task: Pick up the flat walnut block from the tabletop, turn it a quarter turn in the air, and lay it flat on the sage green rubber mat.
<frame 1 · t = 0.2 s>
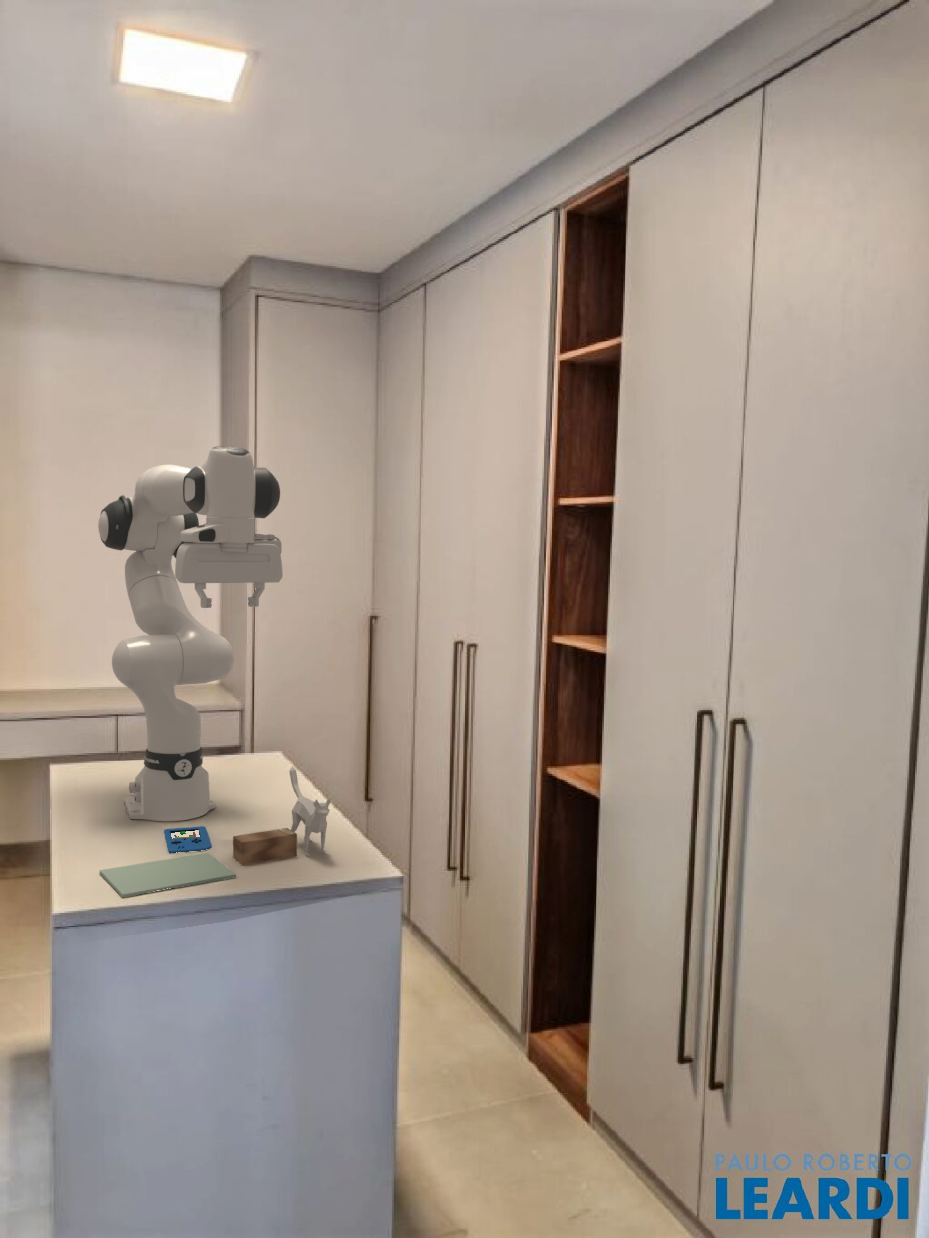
hand: (230, 607, 190), 47 cm above the table, tool pointing down, fingers open, 8 cm apart
rubber mat: (167, 875, 180), on the table
cat figurine: (306, 847, 199), on the table
walnut block: (264, 858, 192), on the table
handheld gaming device: (187, 843, 201), on the table
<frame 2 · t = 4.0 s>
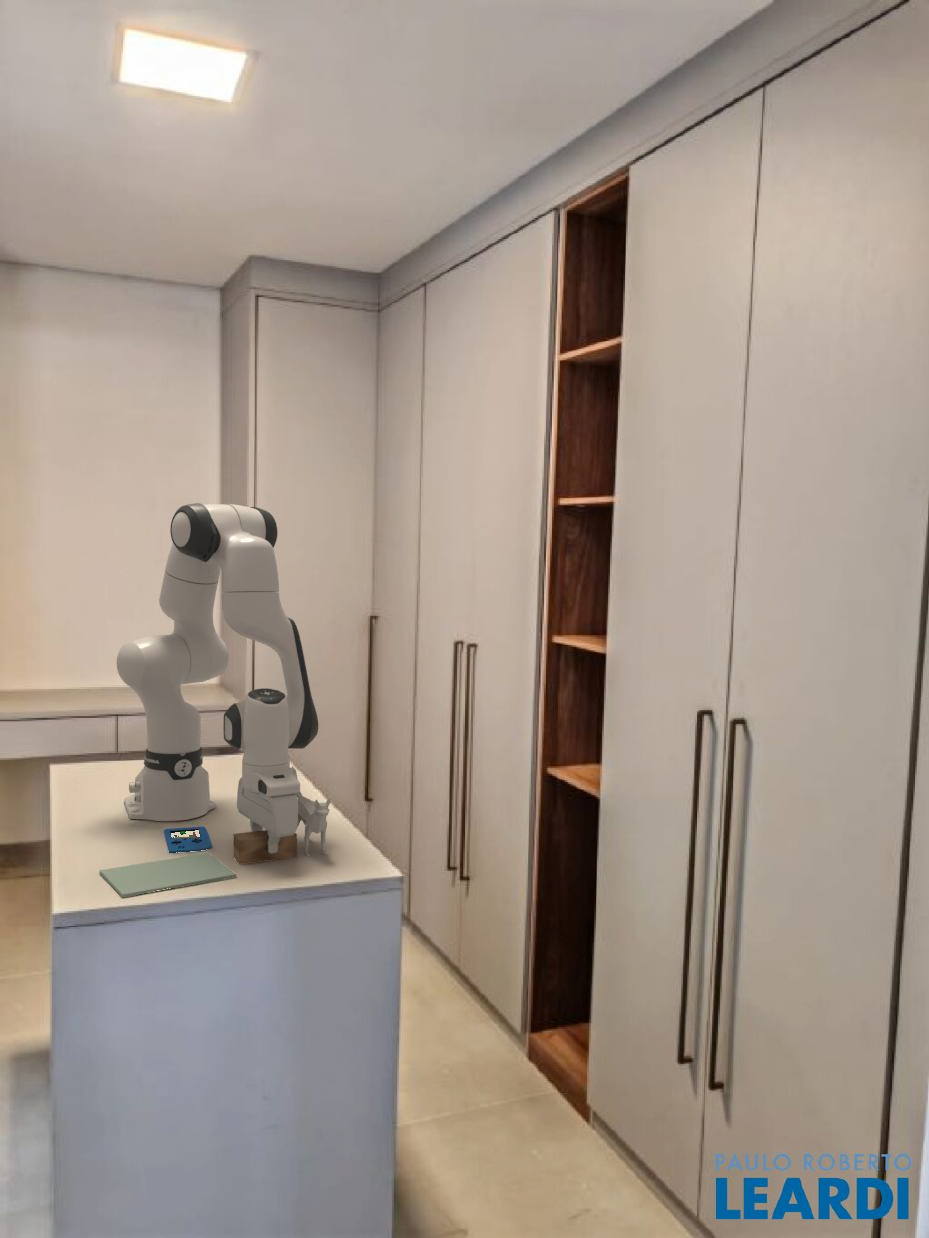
hand: (265, 847, 192), 2 cm above the table, tool pointing down, fingers closed on walnut block, 5 cm apart
walnut block: (264, 857, 192), on the table, touching gripper
everything else where it was.
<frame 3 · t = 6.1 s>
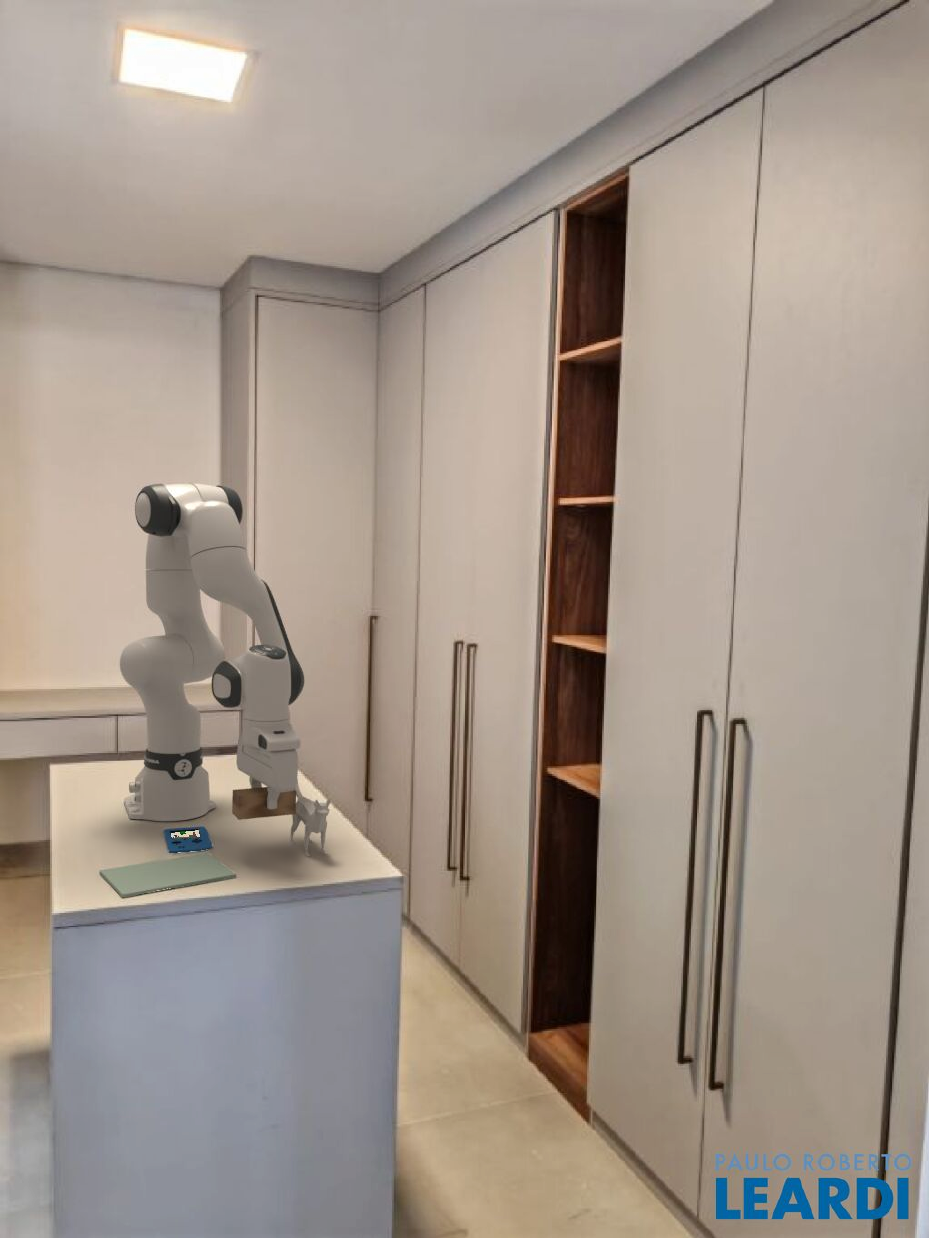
hand: (264, 804, 191), 10 cm above the table, tool pointing down, fingers closed on walnut block, 5 cm apart
walnut block: (264, 813, 191), point 8 cm above the table, touching gripper
everything else where it was.
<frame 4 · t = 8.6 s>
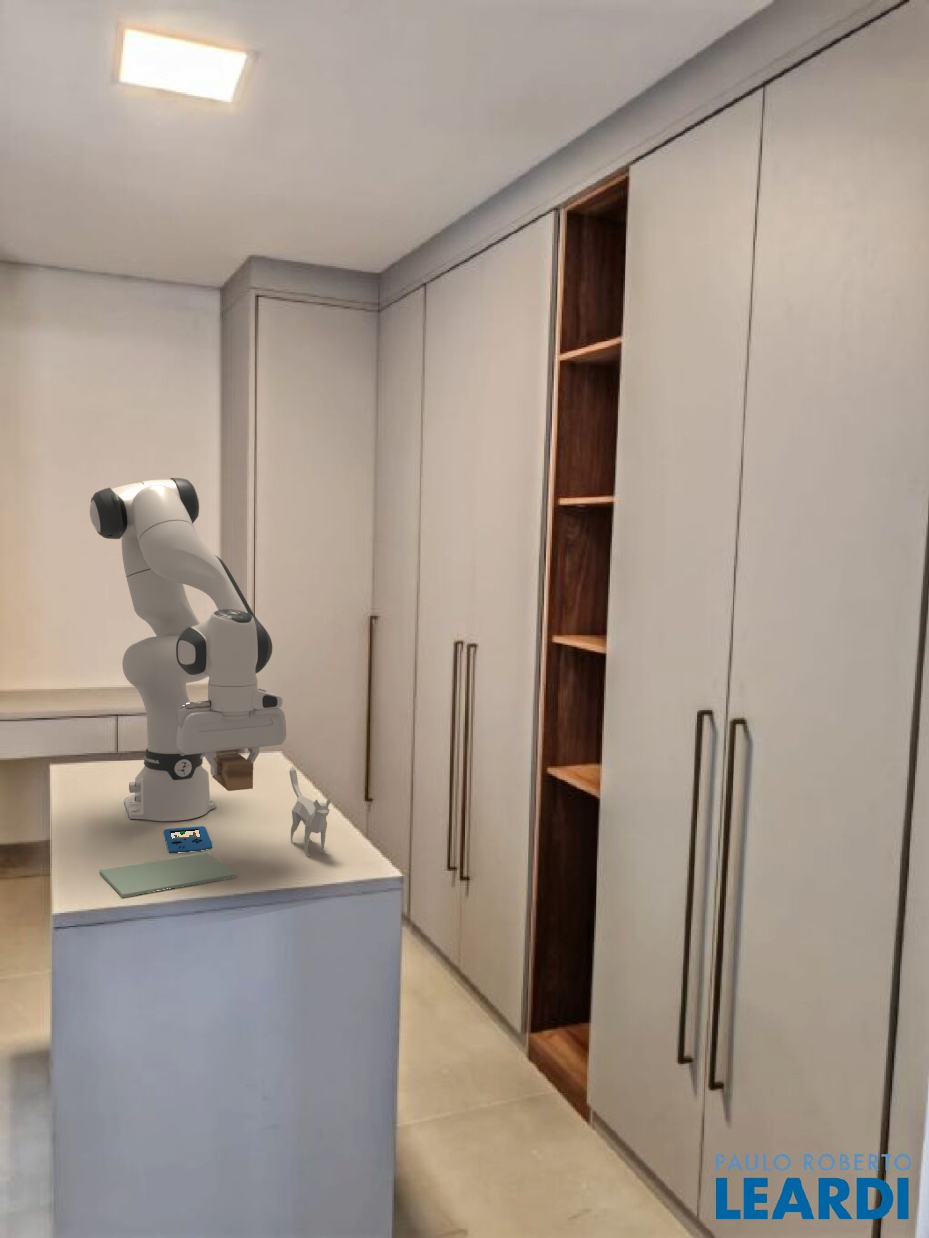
hand: (232, 773, 186), 17 cm above the table, tool pointing down, fingers closed on walnut block, 5 cm apart
walnut block: (232, 782, 186), point 15 cm above the table, touching gripper
everything else where it was.
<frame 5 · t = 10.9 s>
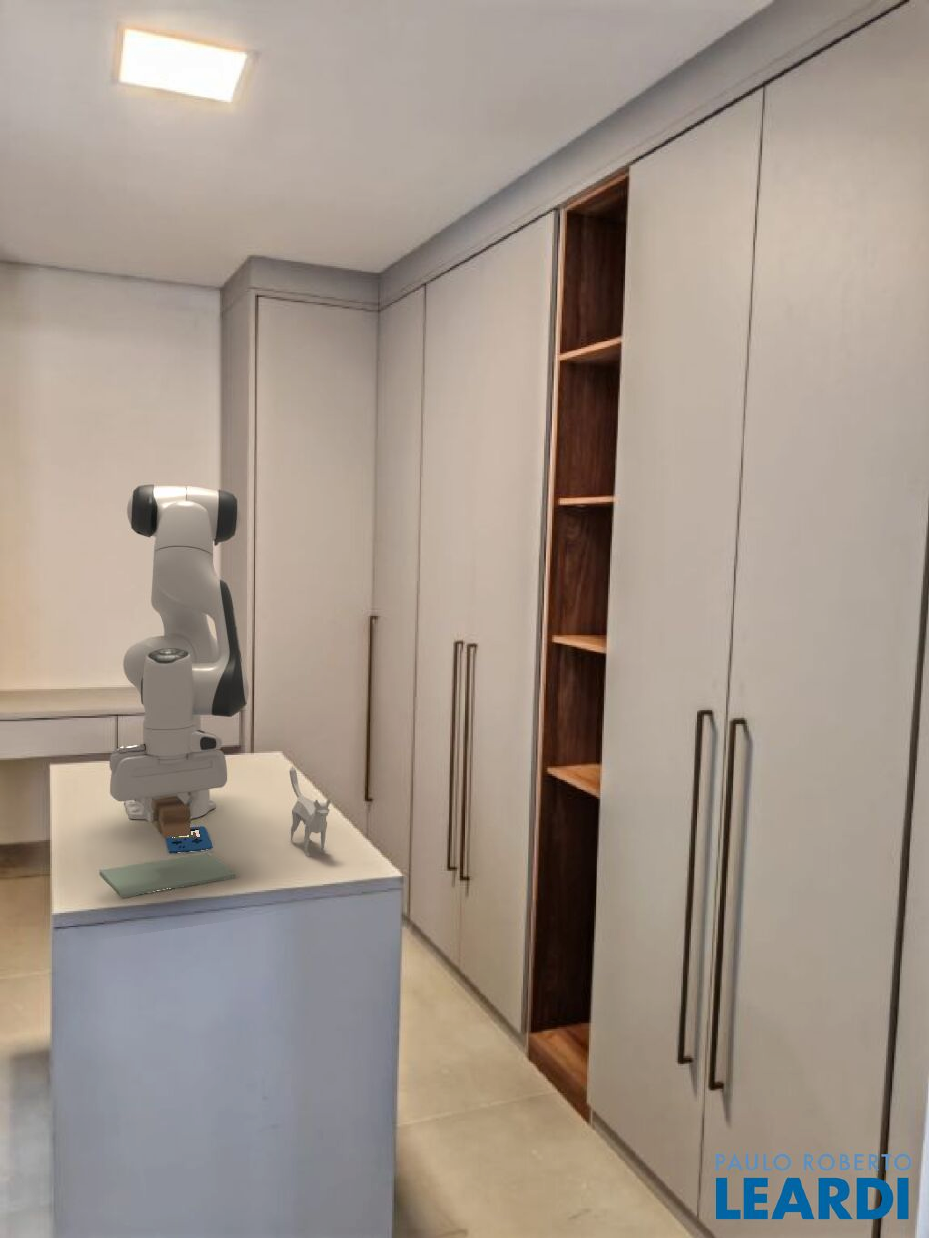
hand: (170, 818, 179), 10 cm above the table, tool pointing down, fingers closed on walnut block, 5 cm apart
walnut block: (170, 828, 179), point 9 cm above the table, touching gripper
everything else where it was.
when the fingers open (4 cm above the table, at t = 12.9 s): walnut block drops 1 cm, resting on rubber mat.
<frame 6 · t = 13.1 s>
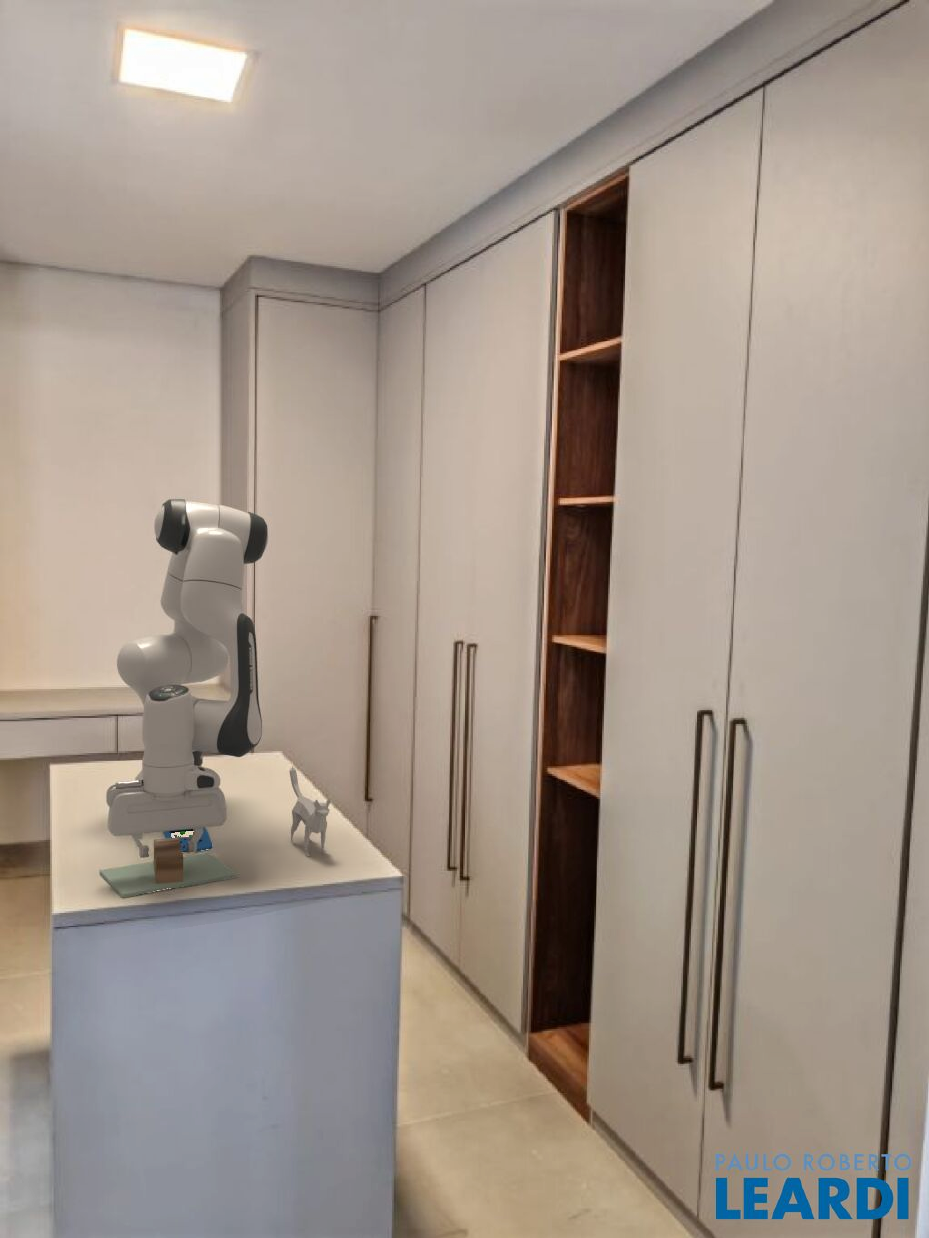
hand: (168, 854, 180), 4 cm above the table, tool pointing down, fingers open, 7 cm apart
walnut block: (168, 872, 180), point 1 cm above the table, touching rubber mat
everything else where it was.
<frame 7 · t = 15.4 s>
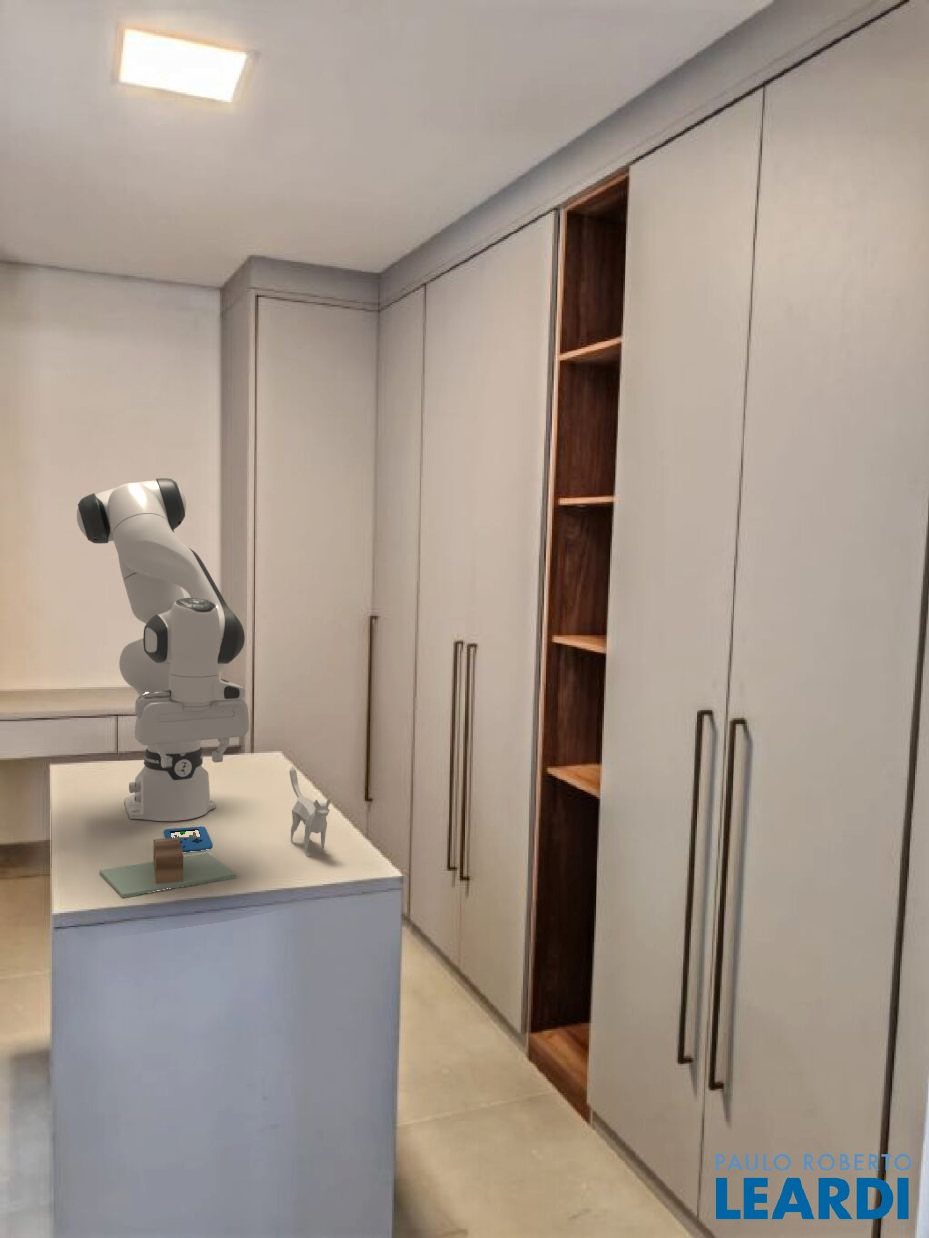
hand: (192, 764, 183), 19 cm above the table, tool pointing down, fingers open, 8 cm apart
nothing on the table moved.
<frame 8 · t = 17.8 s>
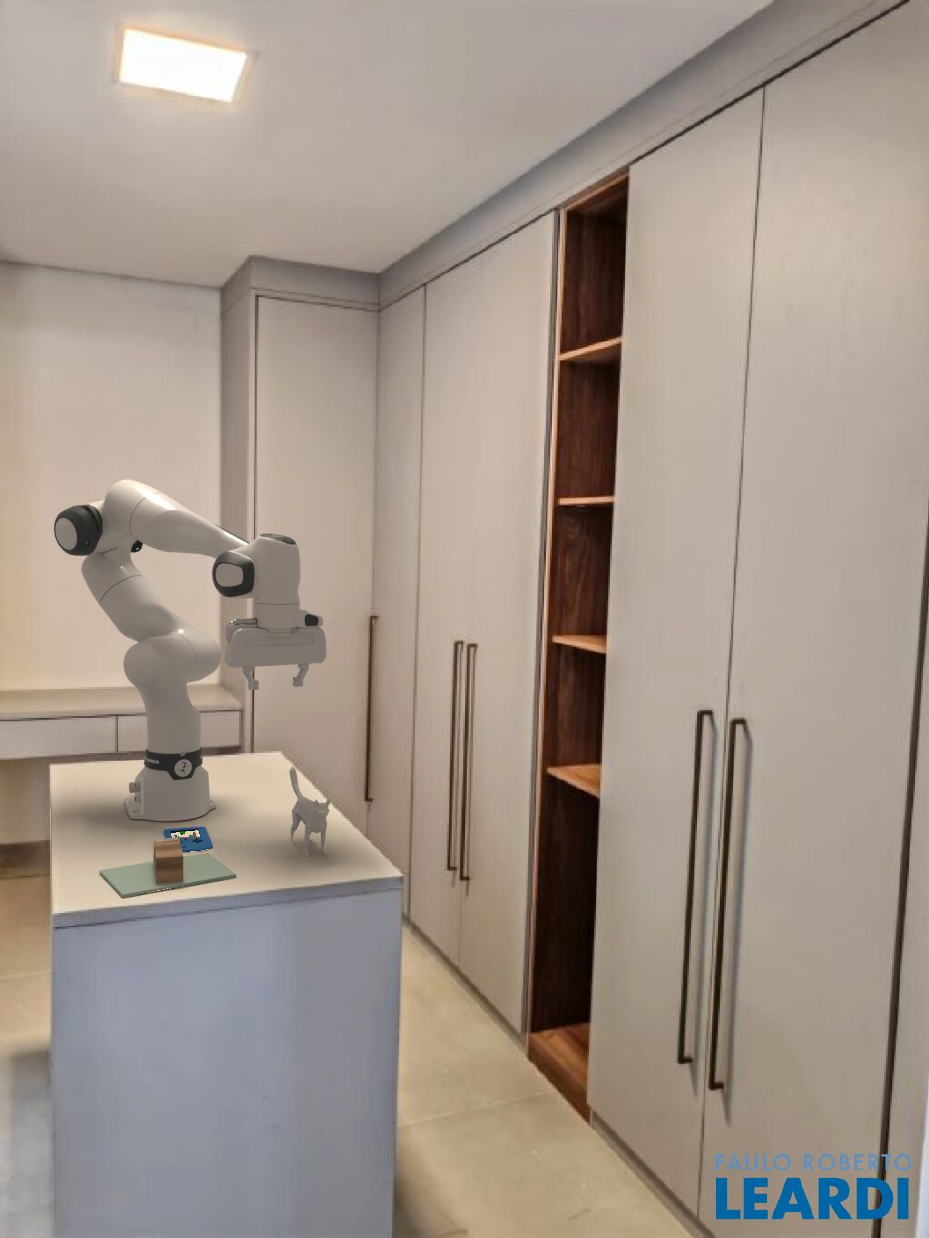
hand: (275, 688, 198), 31 cm above the table, tool pointing down, fingers open, 8 cm apart
nothing on the table moved.
at the end: walnut block inside the target area on the rubber mat (0.0 cm from its centre), point 0.6 cm above the rubber mat's base; walnut block tilted 0°; the gripper is holding nothing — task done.
